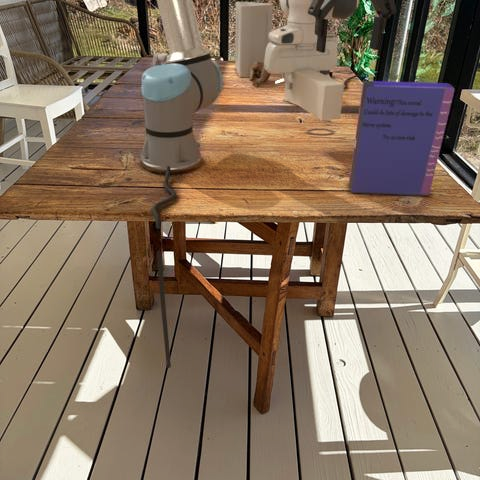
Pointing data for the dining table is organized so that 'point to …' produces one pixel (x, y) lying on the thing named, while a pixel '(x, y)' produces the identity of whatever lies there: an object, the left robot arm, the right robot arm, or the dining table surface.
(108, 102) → the dining table surface
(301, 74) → the bar
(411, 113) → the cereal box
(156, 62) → the toy
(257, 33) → the white upright box
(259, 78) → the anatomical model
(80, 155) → the dining table surface
